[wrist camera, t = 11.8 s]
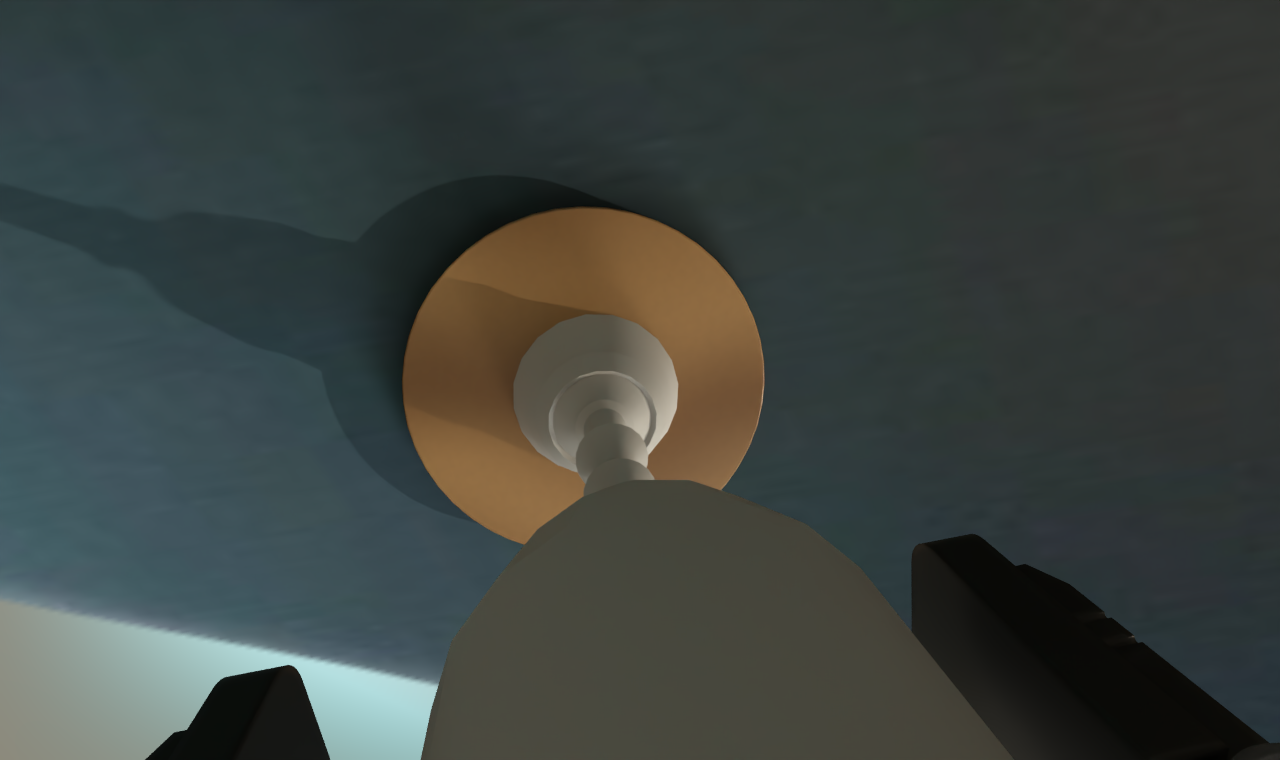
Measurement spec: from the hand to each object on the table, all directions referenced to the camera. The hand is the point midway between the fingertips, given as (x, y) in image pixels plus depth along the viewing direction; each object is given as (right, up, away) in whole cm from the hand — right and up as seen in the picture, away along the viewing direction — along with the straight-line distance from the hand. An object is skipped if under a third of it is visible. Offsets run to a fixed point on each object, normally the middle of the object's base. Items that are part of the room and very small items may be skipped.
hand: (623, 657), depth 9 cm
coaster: (-1, +3, +13) cm, 13 cm away
